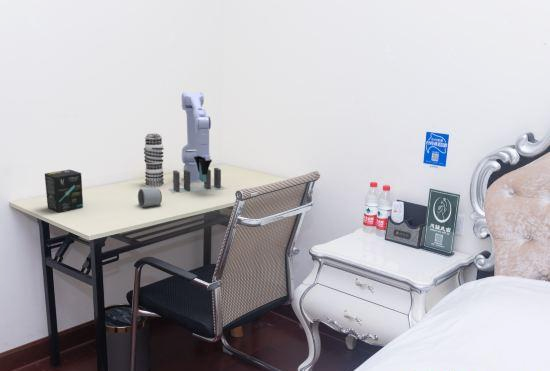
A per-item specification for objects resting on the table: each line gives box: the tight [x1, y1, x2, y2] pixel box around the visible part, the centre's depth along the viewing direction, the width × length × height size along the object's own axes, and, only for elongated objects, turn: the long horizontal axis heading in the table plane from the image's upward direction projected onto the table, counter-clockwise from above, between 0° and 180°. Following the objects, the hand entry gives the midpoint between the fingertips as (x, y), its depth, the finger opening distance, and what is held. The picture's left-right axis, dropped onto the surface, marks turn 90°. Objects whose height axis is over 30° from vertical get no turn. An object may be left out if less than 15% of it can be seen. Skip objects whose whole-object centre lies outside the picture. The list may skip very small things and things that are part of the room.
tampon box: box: [44, 169, 84, 214], centre depth 210 cm, size 11×9×15 cm
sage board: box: [167, 184, 227, 194], centre depth 247 cm, size 8×26×1 cm, turn 116°
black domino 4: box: [213, 167, 222, 190], centre depth 250 cm, size 2×5×9 cm, turn 26°
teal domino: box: [199, 162, 206, 183], centre depth 237 cm, size 2×5×9 cm, turn 26°
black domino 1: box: [172, 170, 181, 192], centre depth 241 cm, size 2×5×9 cm, turn 26°
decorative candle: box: [143, 133, 165, 188], centre depth 247 cm, size 9×9×25 cm
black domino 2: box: [183, 169, 191, 191], centre depth 243 cm, size 2×5×9 cm, turn 26°
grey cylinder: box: [137, 187, 163, 208], centre depth 219 cm, size 11×8×8 cm
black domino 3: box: [203, 169, 212, 189], centre depth 248 cm, size 2×5×9 cm, turn 26°
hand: (202, 173), depth 237 cm, fingers closed on teal domino, 5 cm apart
